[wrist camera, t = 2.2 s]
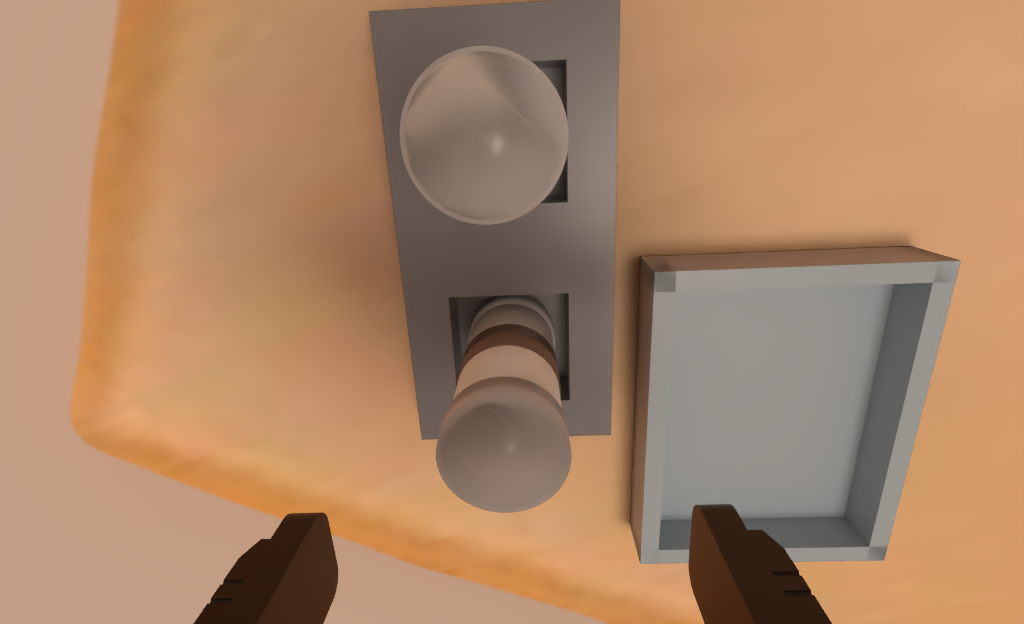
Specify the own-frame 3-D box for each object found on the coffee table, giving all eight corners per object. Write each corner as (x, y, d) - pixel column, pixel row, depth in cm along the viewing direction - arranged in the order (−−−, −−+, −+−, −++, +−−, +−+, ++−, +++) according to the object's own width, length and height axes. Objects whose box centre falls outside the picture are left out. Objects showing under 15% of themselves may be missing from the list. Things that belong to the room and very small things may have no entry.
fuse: (451, 87, 19) (389, 50, 10) (549, 82, 19) (568, 40, 10) (459, 187, 20) (409, 227, 11) (551, 183, 20) (569, 221, 11)
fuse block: (388, 26, 19) (369, 11, 16) (608, 13, 18) (620, -4, 16) (432, 409, 24) (421, 439, 21) (602, 404, 24) (610, 434, 21)
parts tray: (640, 256, 21) (654, 272, 19) (911, 246, 21) (960, 260, 18) (630, 524, 26) (640, 563, 23) (850, 520, 25) (883, 560, 23)
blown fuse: (468, 293, 21) (429, 399, 13) (553, 290, 21) (571, 395, 13) (473, 370, 23) (442, 513, 14) (554, 368, 22) (572, 511, 14)
